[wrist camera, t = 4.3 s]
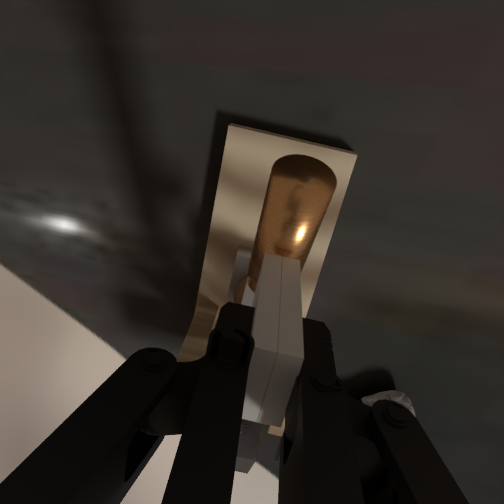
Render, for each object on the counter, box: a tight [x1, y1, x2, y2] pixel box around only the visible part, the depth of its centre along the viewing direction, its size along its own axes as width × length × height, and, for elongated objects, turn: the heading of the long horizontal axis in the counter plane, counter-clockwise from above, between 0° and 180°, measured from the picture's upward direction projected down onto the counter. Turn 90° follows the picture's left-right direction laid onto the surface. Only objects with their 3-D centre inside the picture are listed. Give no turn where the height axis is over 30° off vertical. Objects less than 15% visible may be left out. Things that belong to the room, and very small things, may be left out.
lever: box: [235, 154, 337, 473], centre depth 28 cm, size 32×6×8 cm, turn 168°
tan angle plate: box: [177, 123, 357, 436], centre depth 34 cm, size 22×11×13 cm, turn 168°
